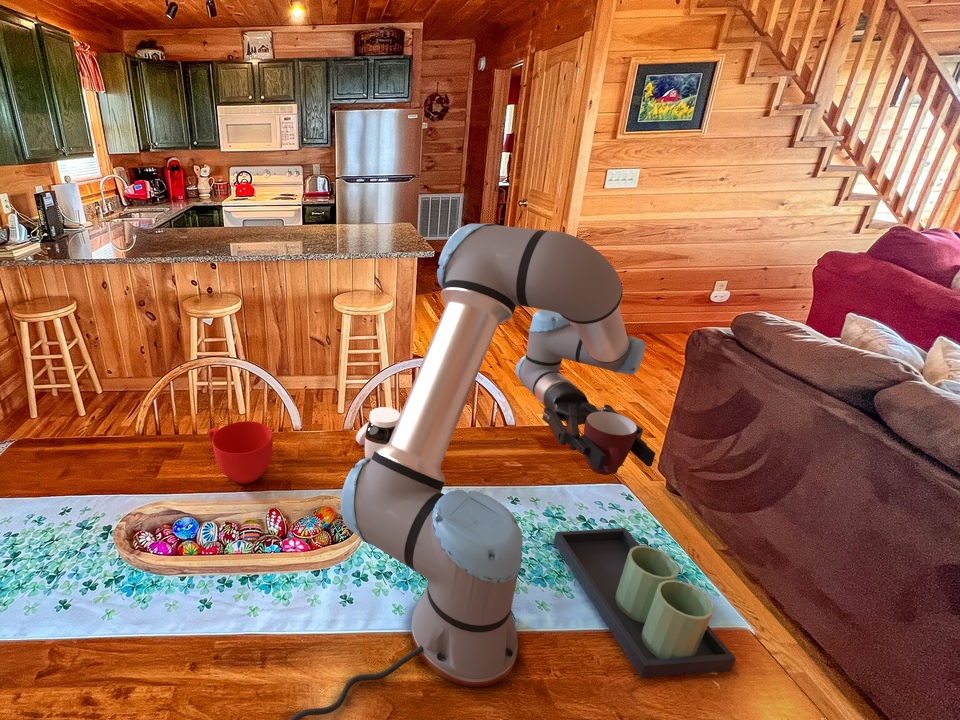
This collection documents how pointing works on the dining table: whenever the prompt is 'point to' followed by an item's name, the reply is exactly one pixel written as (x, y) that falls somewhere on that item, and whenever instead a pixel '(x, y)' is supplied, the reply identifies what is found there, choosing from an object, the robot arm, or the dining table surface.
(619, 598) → the cup
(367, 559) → the dining table surface
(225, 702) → the dining table surface
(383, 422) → the spread jar
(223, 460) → the ceramic cup
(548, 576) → the dining table surface
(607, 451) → the mug
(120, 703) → the dining table surface
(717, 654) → the tray
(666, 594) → the cup
